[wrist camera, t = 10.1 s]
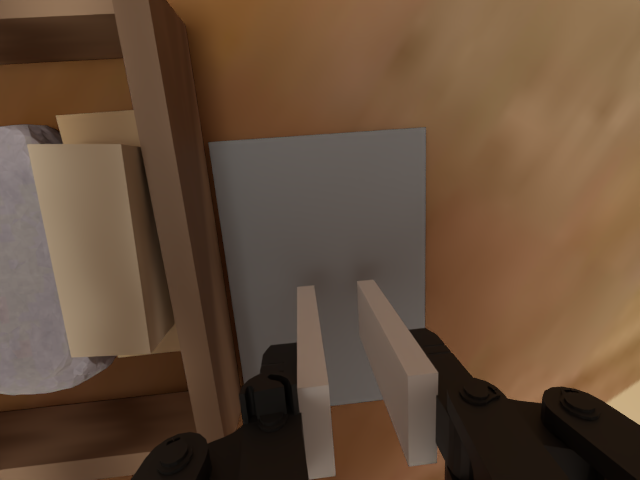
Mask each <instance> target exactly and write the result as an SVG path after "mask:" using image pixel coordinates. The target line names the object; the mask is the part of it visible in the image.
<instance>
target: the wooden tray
mask: <svg viewBox="0 0 640 480" xmlns="http://www.w3.org/2000/svg"><path fill="white" fill-rule="evenodd" d="M111 58H123V59H124V64H125V69H126V74H127V80H128V85H129V90H130V95H131V100H132V105H133V110H134V115H135V120H136V125H137V130H138V136H139V141H140V146H141V151H142V156H143V161H144V166H145V171H146V176H147V181H148V186H149V192H150V197H151V202H152V207H153V212H154V217H155V222H156V227H157V232H158V237H159V242H160V248H161V253H162V258H163V263H164V268H165V273H166V278H167V283H168V288H169V293H170V298H171V304H172V309H173V314H174V319H175V324H176V329H177V334H178V339H179V344H180V349H181V354H182V360H183V365H184V370H185V375H186V380H187V385H188V390H189V391H186V392H177V393H168V394H159V395H150V396H141V397H132V398H124V399H115V400H106V401H97V402H88V403H79V404H70V405H61V406H52V407H43V408H34V409H25V410H16V411H7V412H0V480H96V479H104V478H112V477H120V476H128V475H134V474H135V473H136V471H137V470H138V468H139V467H140V465H141V464H142V462H143V461H144V459H145V458H146V457H147V456H148V455H149V453H150V452H151V451H152V450H153V449H154V448H155V447H156V446H157V445H159V444H160V443H162V442H163V441H164V440H166V439H168V438H170V437H172V436H175V435H177V434H180V433H186V432H193V433H199V434H201V435H202V436H203V437H204V438H205V439H206V441H207V443H210V442H213V441H215V440H218V439H220V438H223V437H225V436H227V435H229V434H231V433H233V432H235V431H236V429H237V425H238V421H239V416H240V412H241V406H240V400H239V393H240V390H241V388H240V381H239V375H238V368H237V362H236V355H235V348H234V342H233V335H232V329H231V322H230V315H229V309H228V302H227V296H226V289H225V283H224V276H223V269H222V263H221V256H220V250H219V243H218V236H217V230H216V223H215V217H214V210H213V203H212V197H211V190H210V184H209V177H208V171H207V164H206V157H205V151H204V144H203V138H202V131H201V124H200V118H199V111H198V105H197V98H196V92H195V85H194V78H193V72H192V65H191V59H190V52H189V45H188V39H187V32H186V26H185V24H184V23H183V22H182V20H181V19H180V18H179V16H178V15H177V14H176V13H175V11H174V10H173V9H172V7H171V6H170V5H169V3H168V2H167V1H166V0H0V64H17V63H36V62H55V61H73V60H92V59H111Z"/></svg>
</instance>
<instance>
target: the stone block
mask: <svg viewBox="0 0 640 480" xmlns="http://www.w3.org/2000/svg"><path fill="white" fill-rule="evenodd" d="M27 144H63V142H62V138H61V134H60V133H59V132H58V131H57V130H55V129H53V128H51V127H49V126H40V125H27V124H25V125H11V126H2V127H0V393H1V394H8V395H19V394H39V393H50V392H55V391H59V390H63V389H68V388H72V387H74V386H76V385H79V384H81V383H82V382H84V381H86V380H88V379H89V378H91V377H93V376H94V375H96V374H97V373H99V372H101V371H103V370H104V369H106V368H107V367H108V366H110V365H111V364H112V362H113V360H114V359H115V357H116V356H117V355H116V356H94V357H72V358H71V354H70V349H69V344H68V339H67V334H66V329H65V325H64V320H63V315H62V310H61V305H60V301H59V296H58V291H57V286H56V281H55V277H54V272H53V267H52V262H51V257H50V253H49V248H48V243H47V238H46V233H45V228H44V224H43V219H42V214H41V209H40V204H39V200H38V195H37V190H36V185H35V180H34V176H33V171H32V166H31V161H30V156H29V151H28V147H27Z"/></svg>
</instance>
